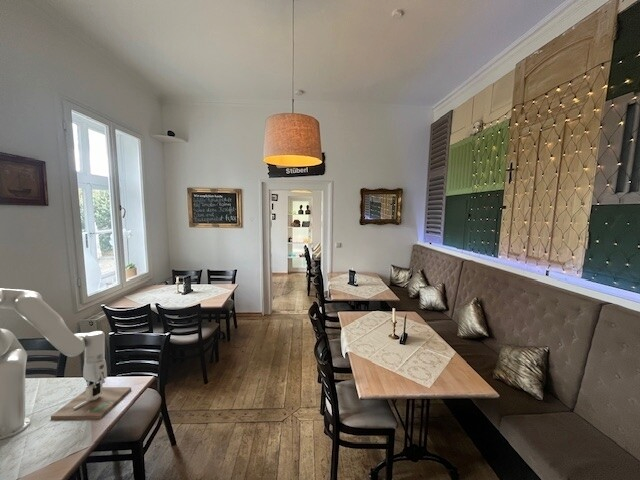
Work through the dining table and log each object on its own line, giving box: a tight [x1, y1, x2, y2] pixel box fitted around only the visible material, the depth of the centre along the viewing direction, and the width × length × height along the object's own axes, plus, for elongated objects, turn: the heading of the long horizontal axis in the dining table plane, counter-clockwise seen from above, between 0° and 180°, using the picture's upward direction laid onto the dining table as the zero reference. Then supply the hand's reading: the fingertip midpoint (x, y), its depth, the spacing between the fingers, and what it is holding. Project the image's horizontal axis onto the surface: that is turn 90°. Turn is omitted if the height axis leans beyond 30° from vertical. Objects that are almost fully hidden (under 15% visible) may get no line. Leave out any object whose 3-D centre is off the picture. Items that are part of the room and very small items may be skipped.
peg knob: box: [74, 382, 103, 409], centre depth 130 cm, size 12×3×7 cm, turn 164°
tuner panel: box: [50, 386, 132, 420], centre depth 131 cm, size 22×21×2 cm
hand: (94, 393), depth 132 cm, fingers closed on peg knob, 2 cm apart
